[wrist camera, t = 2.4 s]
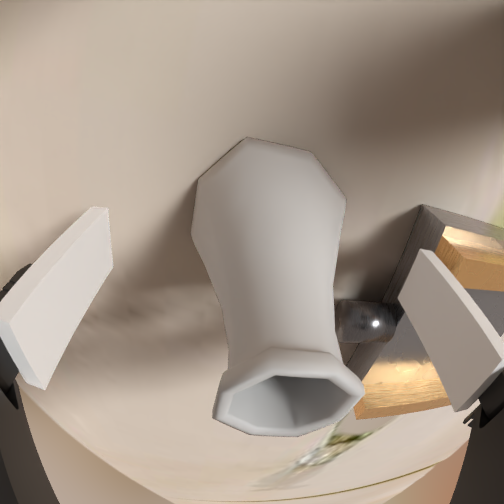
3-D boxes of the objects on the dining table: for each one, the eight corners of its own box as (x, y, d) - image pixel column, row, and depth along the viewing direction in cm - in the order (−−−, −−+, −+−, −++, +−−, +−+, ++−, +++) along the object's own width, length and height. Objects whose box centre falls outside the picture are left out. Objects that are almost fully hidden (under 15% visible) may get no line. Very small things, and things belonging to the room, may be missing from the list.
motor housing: (374, 192, 14) (416, 237, 10) (529, 237, 15) (564, 271, 11) (305, 373, 21) (312, 425, 17) (451, 366, 22) (468, 402, 18)
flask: (369, 191, 14) (492, 347, 5) (287, 294, 17) (309, 469, 8) (238, 108, 12) (204, 171, 3) (168, 237, 15) (96, 417, 6)
